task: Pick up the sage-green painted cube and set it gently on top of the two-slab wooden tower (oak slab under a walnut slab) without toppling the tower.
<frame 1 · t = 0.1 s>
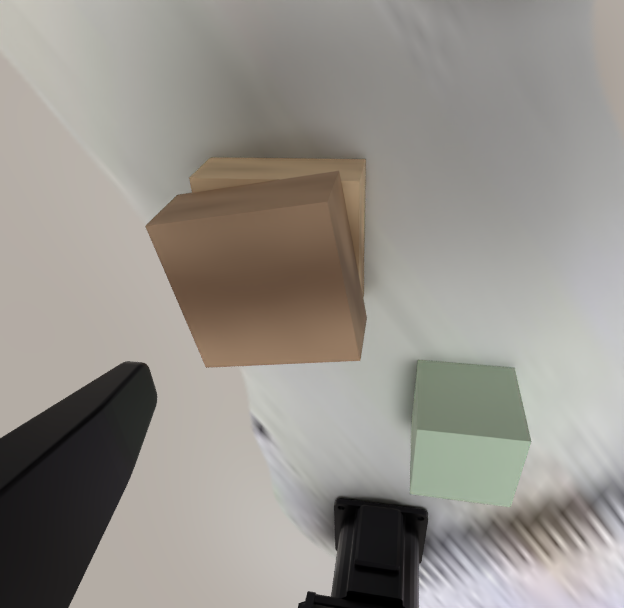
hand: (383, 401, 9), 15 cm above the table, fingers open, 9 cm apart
tower base: (293, 226, 24), on the table, touching tower top
cube: (459, 396, 28), on the table
tower top: (276, 258, 22), point 3 cm above the table, touching tower base
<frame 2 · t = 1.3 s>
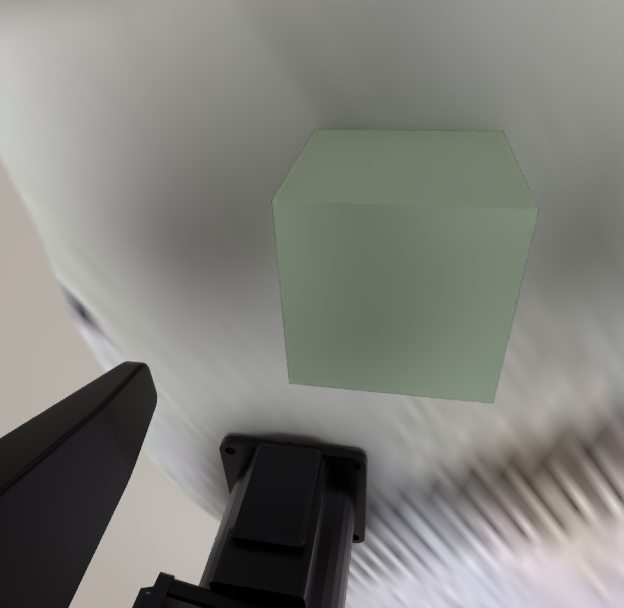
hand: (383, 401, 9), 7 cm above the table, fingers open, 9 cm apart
cube: (400, 214, 15), on the table
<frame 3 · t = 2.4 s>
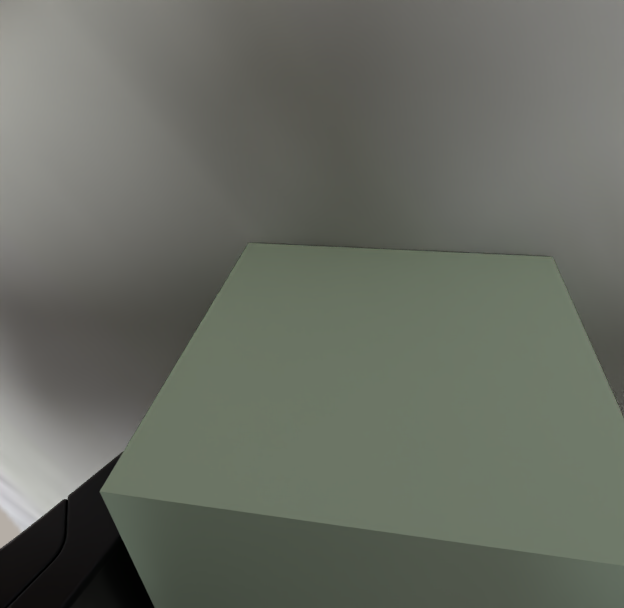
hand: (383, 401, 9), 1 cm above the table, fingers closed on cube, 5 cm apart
cube: (386, 362, 10), on the table, touching gripper
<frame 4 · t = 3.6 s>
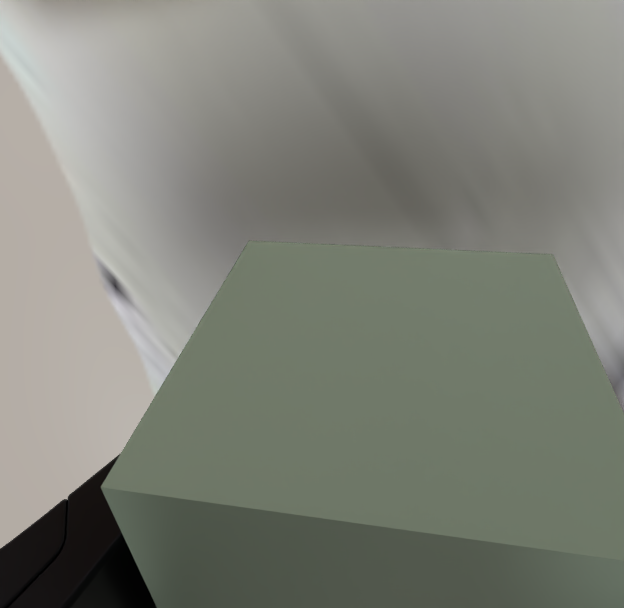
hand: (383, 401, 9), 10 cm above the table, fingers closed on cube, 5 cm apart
cube: (386, 360, 10), point 9 cm above the table, touching gripper
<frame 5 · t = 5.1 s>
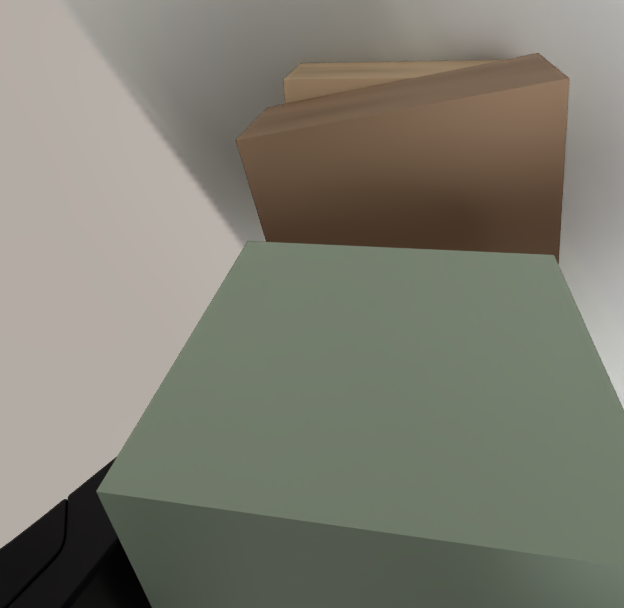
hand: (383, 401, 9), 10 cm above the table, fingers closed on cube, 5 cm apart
tower base: (407, 169, 17), on the table
cube: (386, 361, 10), point 9 cm above the table, touching gripper
tower top: (408, 206, 15), point 2 cm above the table
when the fingers open (8 cm above the table, at t = 5.8 s): cube drops 2 cm, point 6 cm above the table.
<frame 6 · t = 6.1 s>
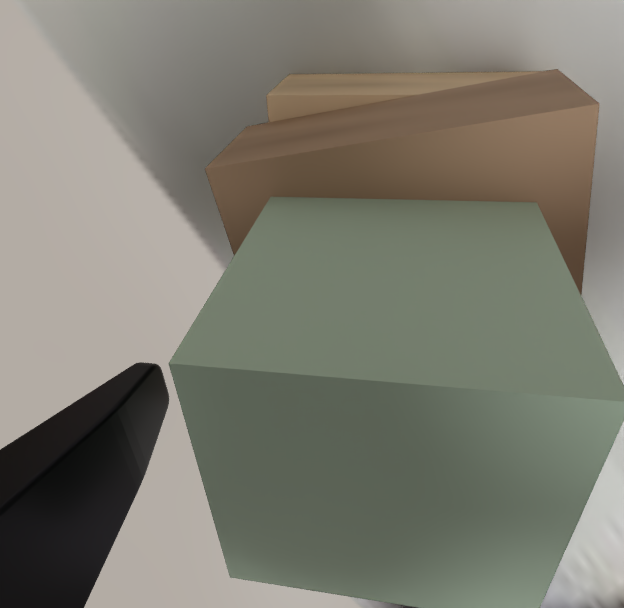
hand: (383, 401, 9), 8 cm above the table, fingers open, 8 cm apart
tower base: (408, 191, 16), on the table, touching tower top
cube: (392, 306, 11), point 6 cm above the table
tower top: (406, 236, 13), point 3 cm above the table, touching tower base
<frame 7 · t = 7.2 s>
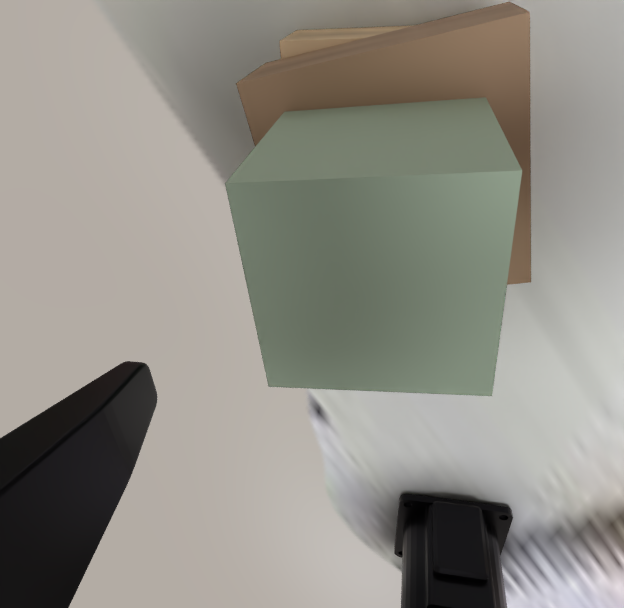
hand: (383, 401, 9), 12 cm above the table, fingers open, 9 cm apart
tower base: (397, 131, 18), on the table, touching tower top
cube: (383, 198, 14), point 6 cm above the table, touching tower top
tower top: (396, 153, 16), point 3 cm above the table, touching cube, tower base
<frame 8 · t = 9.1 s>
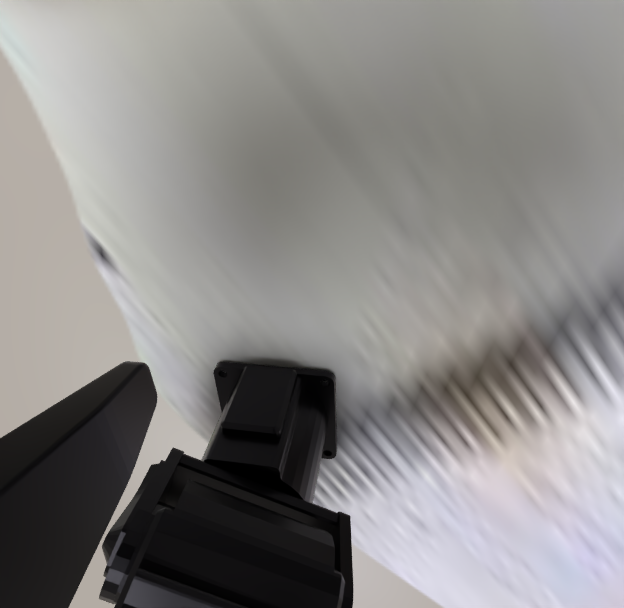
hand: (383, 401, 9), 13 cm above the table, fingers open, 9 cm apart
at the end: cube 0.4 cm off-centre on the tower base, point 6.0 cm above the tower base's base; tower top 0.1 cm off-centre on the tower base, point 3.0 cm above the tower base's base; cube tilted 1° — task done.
